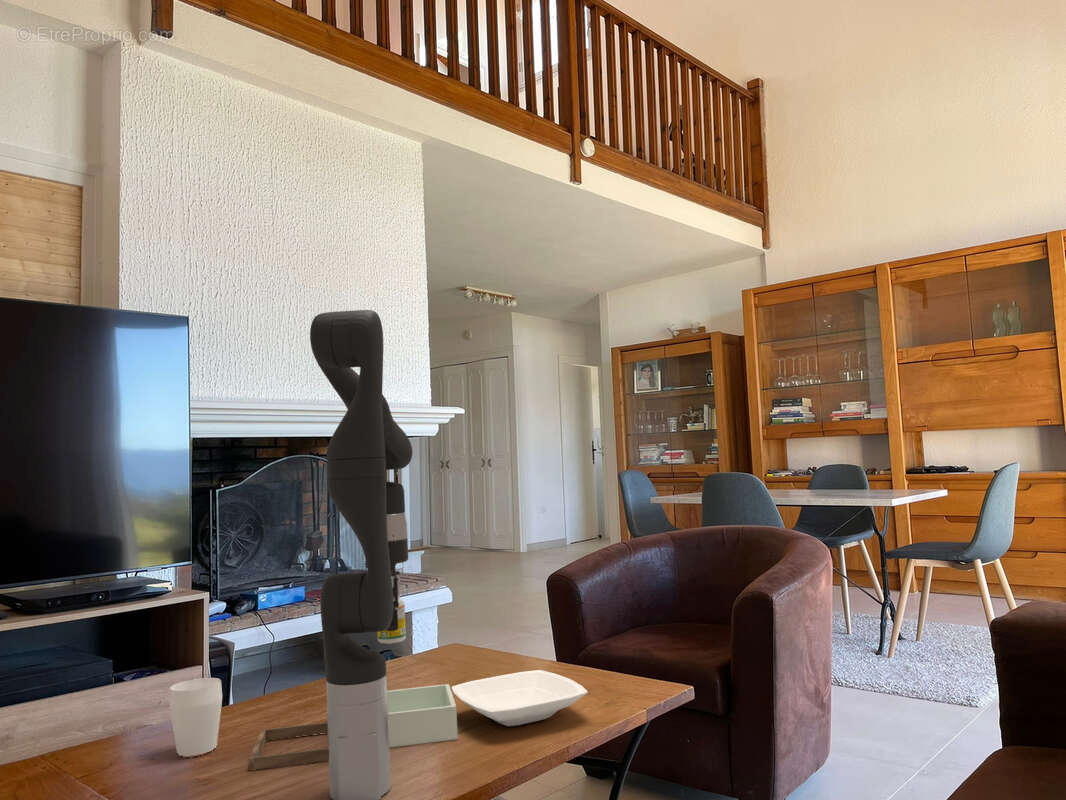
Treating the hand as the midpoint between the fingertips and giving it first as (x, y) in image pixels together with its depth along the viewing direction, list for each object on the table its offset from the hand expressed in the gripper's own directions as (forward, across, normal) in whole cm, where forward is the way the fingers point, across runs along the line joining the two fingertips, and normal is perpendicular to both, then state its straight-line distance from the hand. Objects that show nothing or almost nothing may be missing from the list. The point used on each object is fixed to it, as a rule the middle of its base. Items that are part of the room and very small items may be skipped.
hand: (391, 626), depth 149 cm
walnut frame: (+20, -2, +17) cm, 26 cm away
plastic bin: (+20, 0, -3) cm, 20 cm away
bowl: (+20, -1, -24) cm, 31 cm away
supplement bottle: (+3, 0, 0) cm, 3 cm away
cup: (+20, +4, +36) cm, 41 cm away
